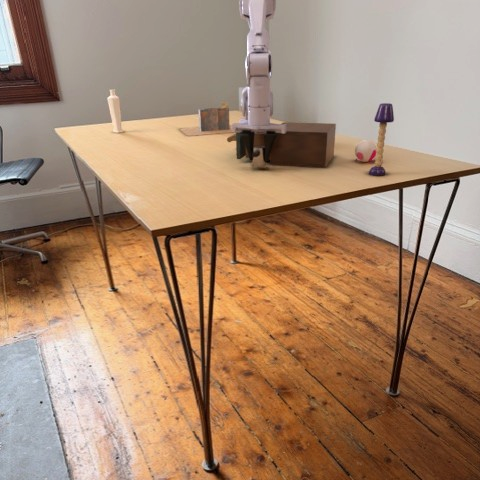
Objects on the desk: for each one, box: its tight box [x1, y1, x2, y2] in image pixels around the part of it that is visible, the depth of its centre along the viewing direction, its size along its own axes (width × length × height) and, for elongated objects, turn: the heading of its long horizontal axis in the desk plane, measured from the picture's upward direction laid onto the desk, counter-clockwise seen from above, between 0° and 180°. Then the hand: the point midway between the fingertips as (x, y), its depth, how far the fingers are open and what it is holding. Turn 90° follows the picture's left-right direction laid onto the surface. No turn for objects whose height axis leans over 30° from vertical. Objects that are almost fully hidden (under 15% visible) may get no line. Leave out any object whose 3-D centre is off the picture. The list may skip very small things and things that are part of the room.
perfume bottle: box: [106, 88, 124, 134], centre depth 185 cm, size 5×4×15 cm
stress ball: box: [354, 139, 377, 163], centre depth 136 cm, size 8×8×7 cm
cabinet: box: [269, 121, 337, 168], centre depth 138 cm, size 16×15×9 cm
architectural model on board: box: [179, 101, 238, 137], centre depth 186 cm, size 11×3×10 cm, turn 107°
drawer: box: [226, 129, 270, 160], centre depth 142 cm, size 19×13×7 cm
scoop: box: [251, 145, 267, 168], centre depth 130 cm, size 6×4×5 cm, turn 162°
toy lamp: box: [368, 102, 395, 176], centre depth 121 cm, size 5×5×17 cm
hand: (259, 160), depth 132 cm, fingers closed on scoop, 4 cm apart
